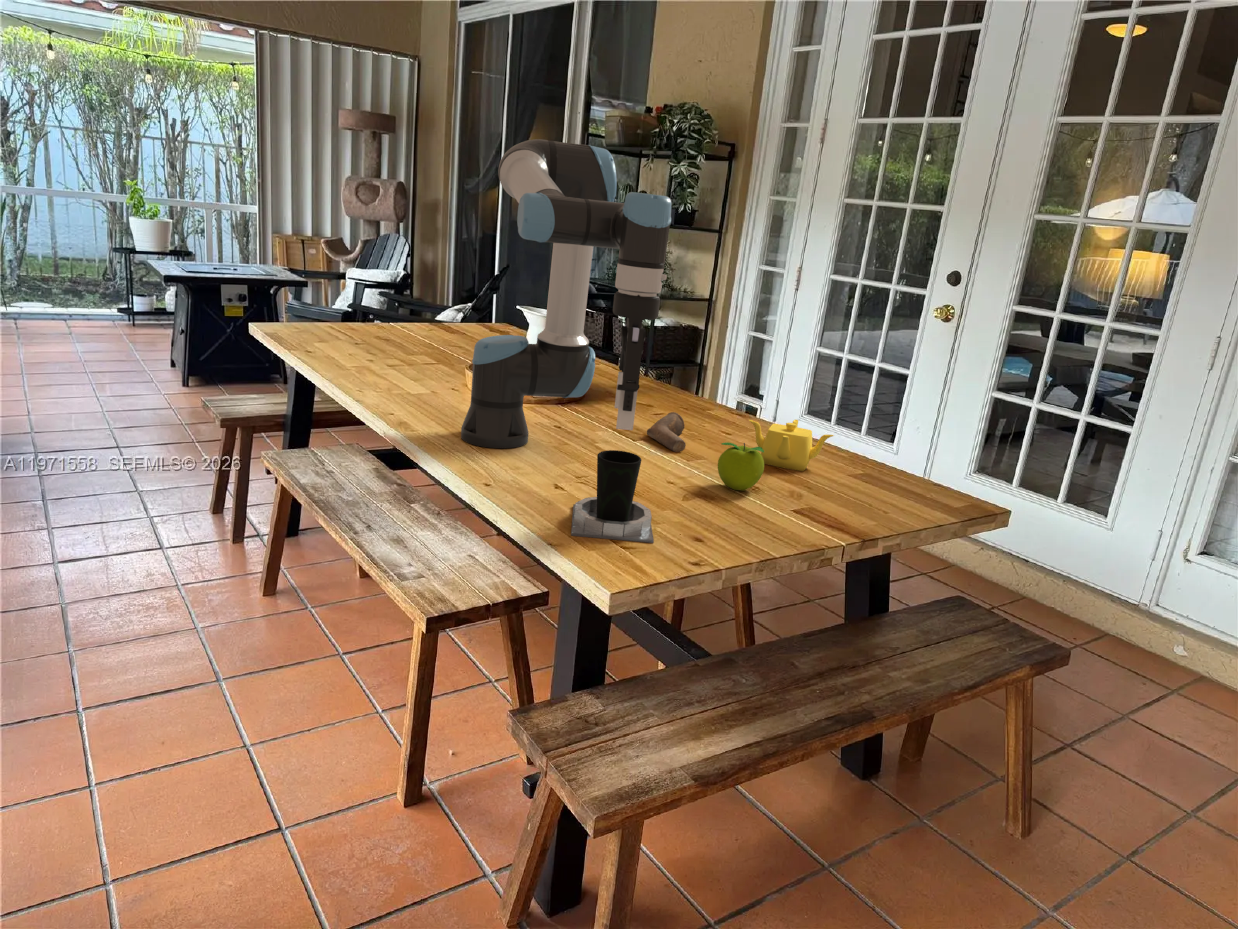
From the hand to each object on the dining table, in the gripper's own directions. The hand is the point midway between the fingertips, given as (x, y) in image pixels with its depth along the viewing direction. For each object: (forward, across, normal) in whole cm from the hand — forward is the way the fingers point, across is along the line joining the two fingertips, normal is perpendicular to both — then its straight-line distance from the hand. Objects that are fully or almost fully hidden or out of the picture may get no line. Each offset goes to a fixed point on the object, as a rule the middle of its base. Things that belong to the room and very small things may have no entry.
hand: (623, 418), depth 143 cm
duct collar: (+19, 0, 0) cm, 19 cm away
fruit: (+20, +27, -27) cm, 43 cm away
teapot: (+20, +50, -42) cm, 68 cm away
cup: (+19, 0, 0) cm, 19 cm away
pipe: (+20, +58, -16) cm, 63 cm away
